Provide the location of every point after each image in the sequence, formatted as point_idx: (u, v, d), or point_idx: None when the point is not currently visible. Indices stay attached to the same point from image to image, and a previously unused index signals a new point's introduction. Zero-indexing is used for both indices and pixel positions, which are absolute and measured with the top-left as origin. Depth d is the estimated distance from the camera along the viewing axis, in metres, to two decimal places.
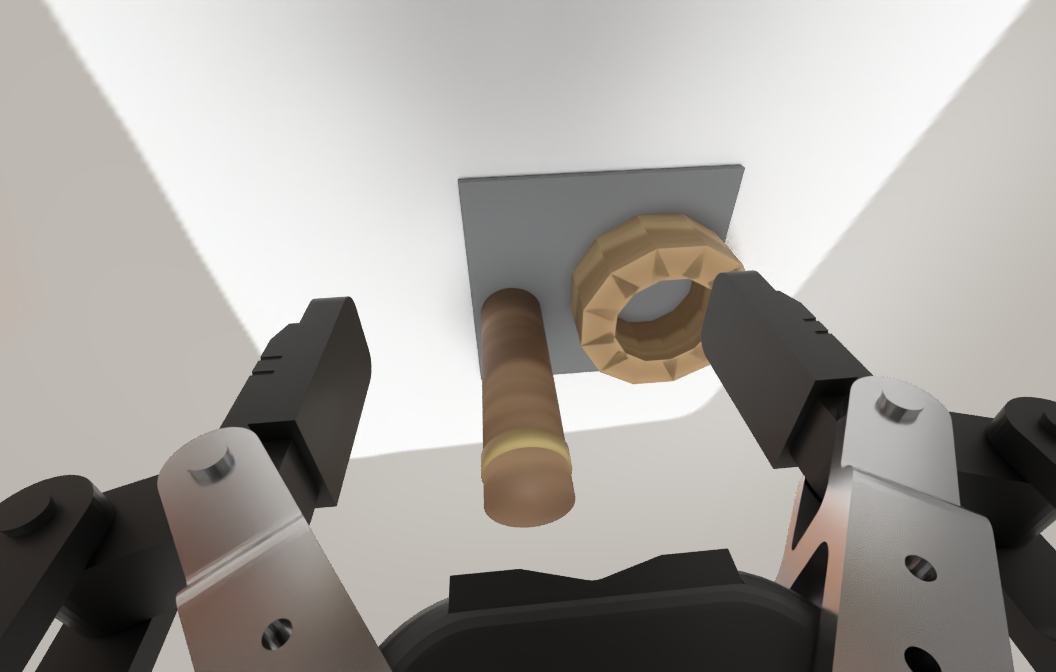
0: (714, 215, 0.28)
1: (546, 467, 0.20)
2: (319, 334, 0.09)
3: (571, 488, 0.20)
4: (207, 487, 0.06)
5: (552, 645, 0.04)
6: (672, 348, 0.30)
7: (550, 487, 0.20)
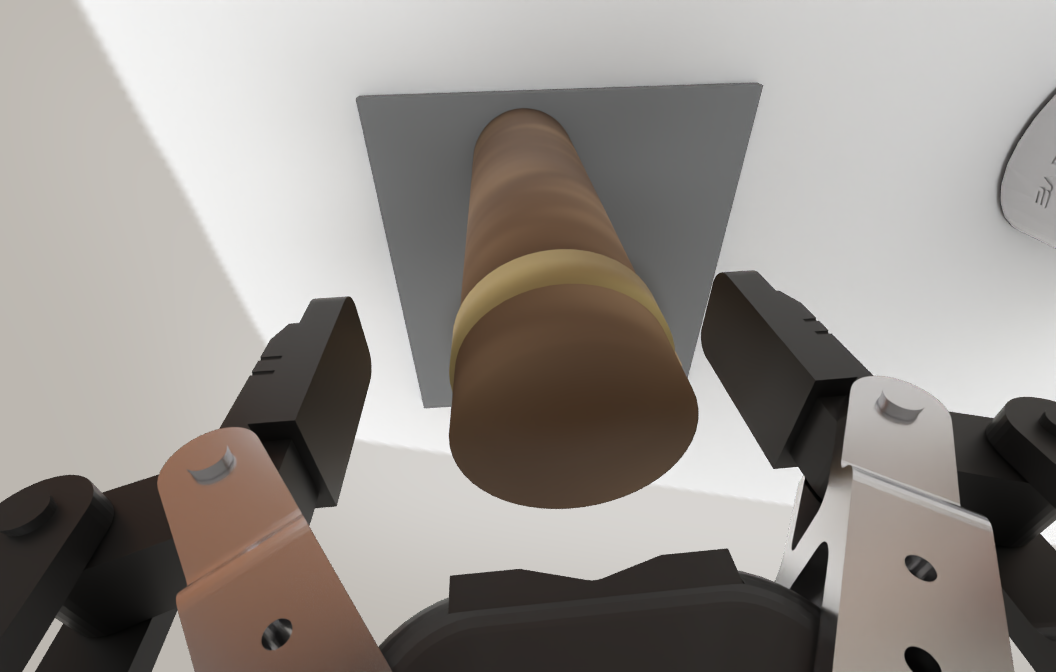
0: None
1: None
2: (319, 334, 0.09)
3: (612, 496, 0.09)
4: (207, 487, 0.06)
5: (552, 645, 0.04)
6: None
7: (635, 468, 0.08)
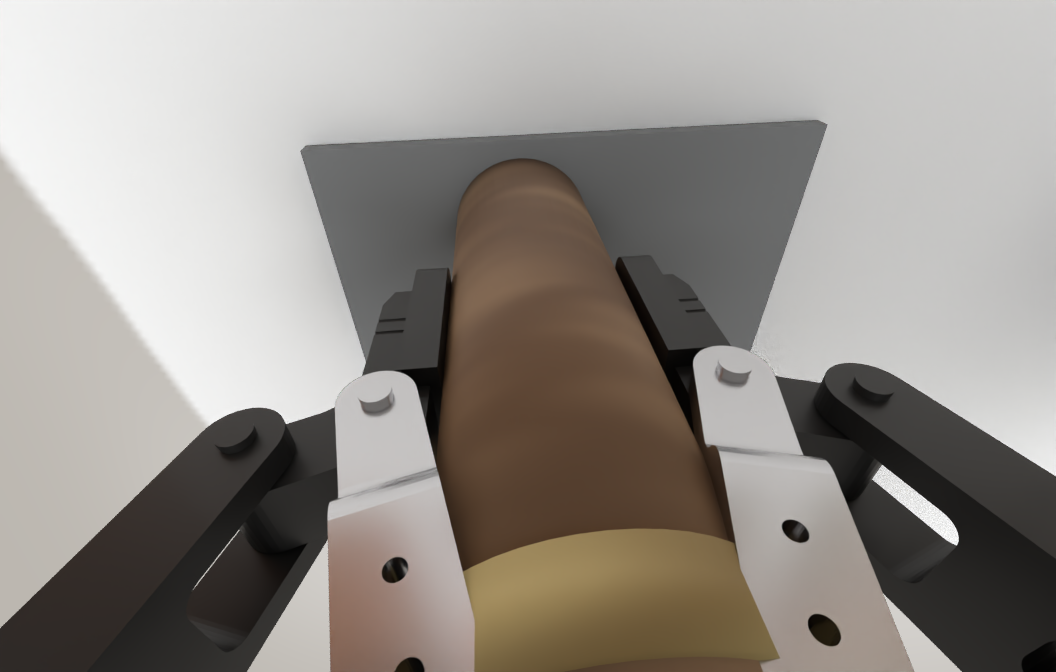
0: None
1: None
2: (433, 298, 0.09)
3: None
4: (382, 416, 0.07)
5: None
6: None
7: None
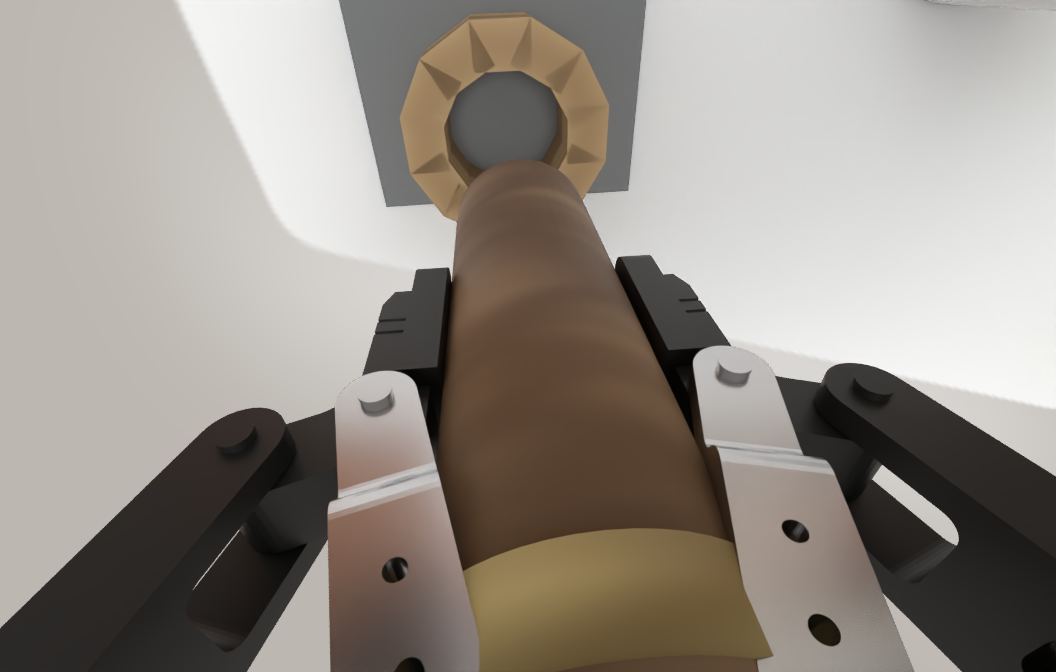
0: None
1: None
2: (433, 298, 0.09)
3: None
4: (383, 417, 0.07)
5: None
6: (454, 162, 0.24)
7: None
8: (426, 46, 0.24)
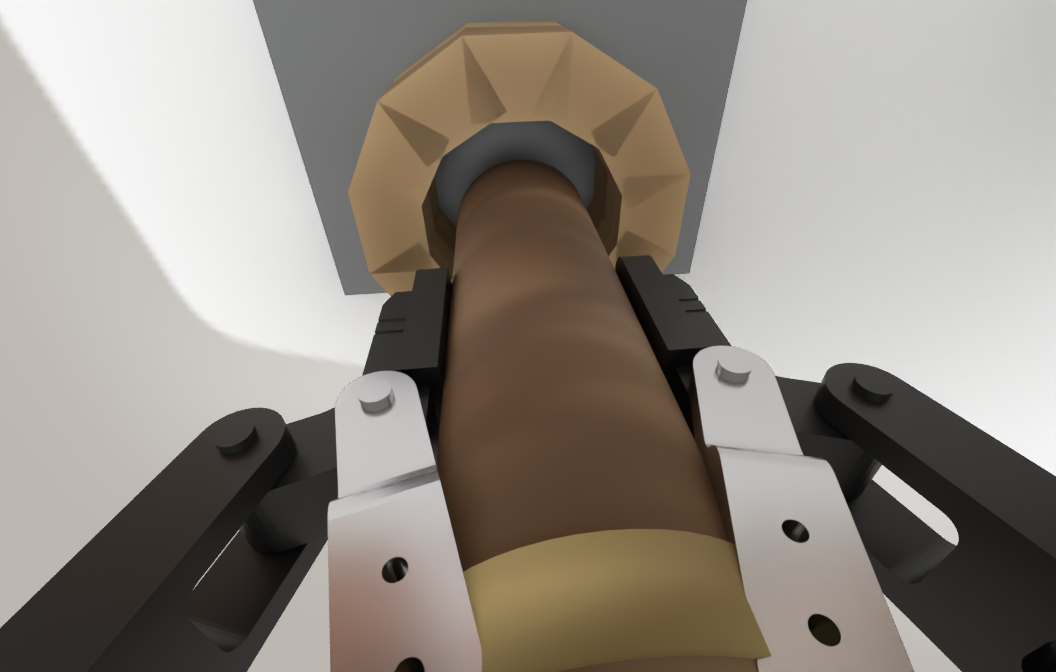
0: None
1: None
2: (433, 298, 0.09)
3: None
4: (383, 417, 0.07)
5: None
6: (439, 253, 0.16)
7: None
8: (398, 71, 0.15)
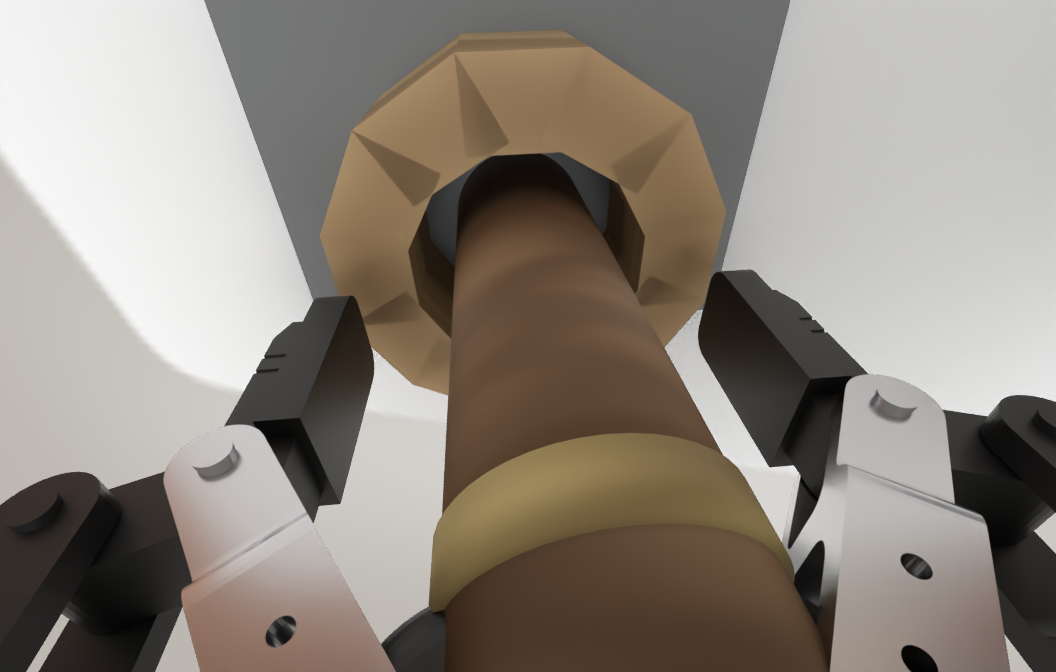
0: None
1: None
2: (323, 332, 0.09)
3: None
4: (213, 484, 0.06)
5: None
6: (430, 299, 0.13)
7: None
8: (381, 89, 0.13)
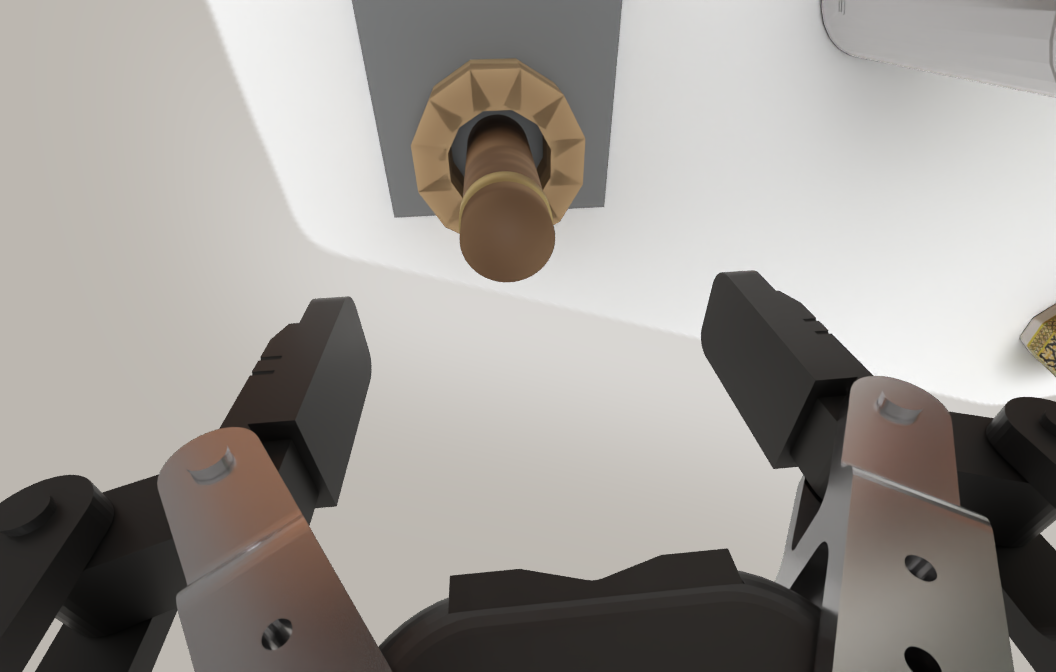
0: None
1: None
2: (319, 334, 0.09)
3: (527, 276, 0.21)
4: (207, 487, 0.06)
5: (552, 645, 0.04)
6: (455, 182, 0.29)
7: (534, 258, 0.20)
8: (433, 84, 0.28)
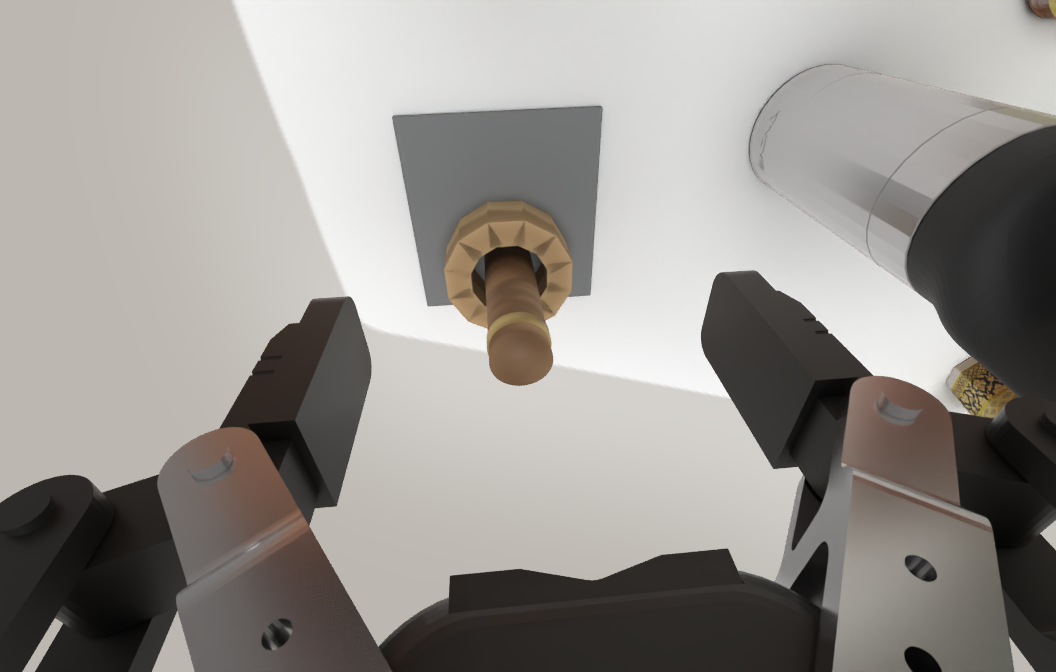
0: None
1: None
2: (319, 334, 0.09)
3: (534, 381, 0.30)
4: (207, 487, 0.06)
5: (552, 645, 0.04)
6: (475, 290, 0.38)
7: (539, 371, 0.30)
8: (459, 218, 0.38)
